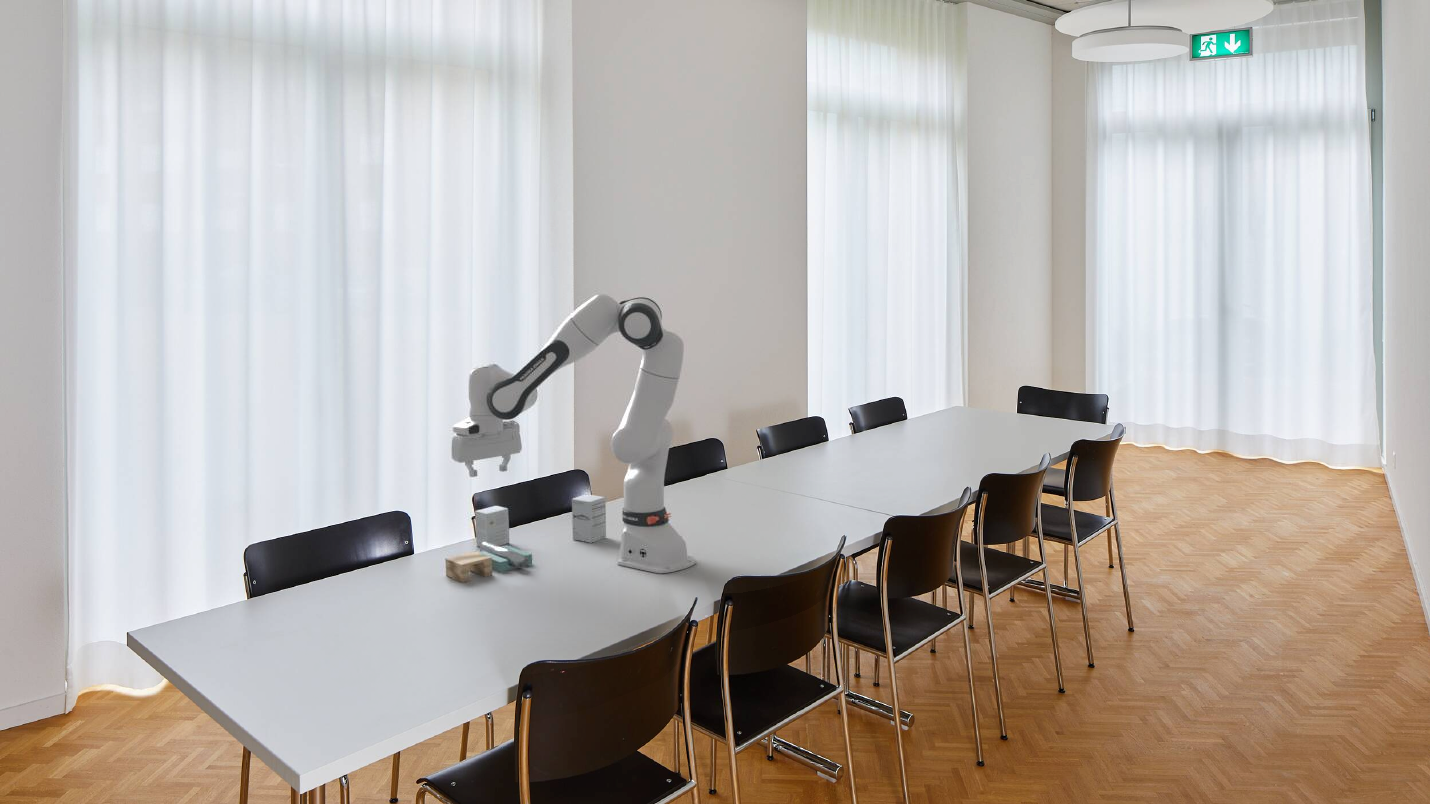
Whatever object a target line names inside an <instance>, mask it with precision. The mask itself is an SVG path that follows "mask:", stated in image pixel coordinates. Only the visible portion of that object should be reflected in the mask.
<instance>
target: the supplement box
mask: <svg viewBox="0 0 1430 804" xmlns="http://www.w3.org/2000/svg"><path fill="white" fill-rule="evenodd" d="M606 499H607V498H606V497H605V496H599V495H595V494H594V495H593V494H588V493H587V494H583V495H580V496H576V497H574V498H571V509H572V510H571V511H572V512H571V513H572V514H571V518H572V521H571V522H572V523H571V524H572V526H571V527H572V540H573V539H574V540H575V541H579V540H580V542H584V541H585V542H586V543H589V544H593V543H596V542H598V541H597V540H599V541H600V539H601V540H603V539H602V538H604V539H606V538H607V515H606V514H607V509H606V504H607V503H606V502H607V501H606ZM605 537H606V538H605ZM574 540H573V541H574ZM581 540H582V541H581ZM595 541H596V542H595ZM592 542H593V543H592Z"/></svg>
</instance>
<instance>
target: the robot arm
mask: <svg viewBox="0 0 1430 804" xmlns="http://www.w3.org/2000/svg"><path fill="white" fill-rule="evenodd" d="M662 317H663V314H662V311H661V308H660V306H659V305H658V303H656V302H655V301H654V300H653V299H651V298H649V297H644V296H642V297H640V296H639V297H635V298H634V297H633V298H630V299H626V300H622V301H620V302H617V300H615V299H614V298H613V297H611V296H610V295H608V294H604V293H599V294H596V295H594V296H592V297H591V298H589V299H588V300H586V301H585V302H583V304H581V305H580V306H579V307H577V308H576V309H575V310H574V311H573V312H571V314H570V315H569V316H568V317H567V318H566V319H565V320H563V321H562V323H561V325H559V327H558V328H557V329H556V330H555V331H554V332H553V334H552V336H551V337H550V339H549V340H548V341H547V342H546V343H545V345H544V346H543V347H542V348H541V350H539V352H538V353H537V354H536V355H535V356H534V357H533V358H532V359H530V360H529V361H528V362H527V363H526V364H525V365H524V366H523V367H522V368H521V369H519V371H518V372H516V373H515V374H514V373H511V372H509V371H507V370H505V369H503V368H502V367H501V366H500V365H498V364H495V363H493V364H486V365H485V364H484V365H482V366H476V367H474V368H473V369H472V370H471V371H470V372H469V376H468V377H469V378H468V400H469V404H470V409H469V412H468V413H469V417H467V418H466V419H464V420H462V421H460V422H458V423H456V424H454V425H453V426H452V430H453V433H455V434H454V435H453V436H452V440H451V458H452V460H453V461H454V462H455V463H456V462H457V463H459V464H461V463H464V465H465V466H466V469H467V470H468V474H469V477H470V478H475V477H478V470H477V469H474V467H473V465H474V461H480V460H485V459H486V460H487V459H492V458H498V457H501V458H502V459H503V460H502V462H501V463H500V464H499V465H498V470H499V471H500V472H502V473H503V472H507V471H508V464H509V462H510V461H511V455H515V454H520V453H521V451H522V450H523V449H522V448H523V447H522V438H521V434H520V432H521V430H520V429H521V428H520V424H519V423H518V422H517V421H516V420H513V419H515V418H516V417H518V416H519V415H520V414H523V413H524V412H525V411H527V410H529V409H531V408H532V407H533V406H534V405H535V404H536V402H537V398H538V389H537V388H538V387H540V385H541V384H543V383H544V382H545V381H546V380H547V379H548V378H549V377H550V376H552V375H553V374H554V373H556V372H557V371H559V370H560V369H562V368H564V367H566V366H569V365H571V364H573V363H576V362H578V361H580V360H581V359H582V360H583V358H585V357H586V356H587V355H589V354H591V353H592V352H594V350H595V349H597V348H598V347H599V346H600V345H601V344H602V343H603V342H604V341H605V340H606V339H607V338H608V337H610V336H611V335H613V334H615V333H620V334H621V336H622V337H623V338H624V339H625V340H626V341H628V342H629V343H631V344H633V345H635V346H636V347H638V348H640V349H641V350H642V355H641V361H640V365H639V368H638V372H637V377H636V381H635V384H634V385H635V386H634V388H633V392H632V395H631V398H630V400H629V403H628V404H627V406H626V409H625V411H624V414H623V415H622V417H621V418H622V419H621V420H620V423H619V424H618V427H617V428H616V431H614V433H613V435H612V436H611V439H610V450H611V453H612V454H613V456H614V457H615V459H616V460H618V461H619V462H621V463H624V464H628V467H627V471H626V473H625V476H624V479H623V508H622V512H621V517H622V522H623V528H622V532H621V537H620V549H619V556H618V559H617V563H616V564H617V565H618V566H622V567H627V568H631V569H638V570H642V571H646V572H650V573H656V574H666V573H673V572H677V571H682V570H684V569H688V568H690V567H692V566H693V565H695V564H696V563H697V560H696V558H695V557H692V556H691V555H688V551H687V550H688V549H687V544H686V540H685V539H684V538H683V536H682V535H680V534H679V532H678V531H677V530H676V529H675V528H674V527H673V526H672V525H671V524H670V523H671V522H669V520H670V519H669V518H672V516H671V514H672V513H671V512H669V513H667V508H666V506H665V474H666V468H667V462H668V456H669V450H670V446H671V443H672V442H673V438H674V429H673V426H672V424H671V423H670V422H669V420H668V419H666V417H667V415H668V412H669V411H670V409H671V407H672V406H673V403H674V401H675V400H674V399H675V397H676V391H677V389H678V385H679V380H680V376H681V372H682V368H683V362H684V361H683V359H684V350H685V344H684V341H683V339H682V338H681V336H680V335H677V334H676V333H674V332H672V331H669V330H666V329H665V328H664V326H663V324H662V322H663V321H662V320H663V318H662ZM507 420H509V421H507Z"/></svg>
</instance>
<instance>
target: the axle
mask: <svg viewBox="0 0 1430 804" xmlns="http://www.w3.org/2000/svg"><path fill="white" fill-rule="evenodd" d="M482 551H485V552H488V553H490V554H493V555H496V556H498V557H501V558H504V559H507V560H508V563H509V564H512V565H514V566H517V567H519V568H520V569H521V568H524V567H525V565H526V564H527V557H526V556H525V555H523V554H520V553H518V552H515V551H512V550H509V549H506V548H504V547H502V545H500V546H498V545H495V544H493V543H490V542H487V541H485V542H483V543H482V544H481V545H480V546H479V552H482Z"/></svg>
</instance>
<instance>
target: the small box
mask: <svg viewBox="0 0 1430 804" xmlns="http://www.w3.org/2000/svg"><path fill="white" fill-rule="evenodd" d="M474 516H475V517H474V519H475V520H474V521H475V536H476V537H475V539H476V546H477V547H480V545H481V544H482V543H483V542H485V541H487V542H490V543H493V544H495V545H498V546H502V545H503V546H504V545H507V544H510V541H511V540H510V524H509V523H510V522H509V508H507V507H503V506H500V505H493V506H489V507H485V508H482V509H477V510H475V511H474Z"/></svg>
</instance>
